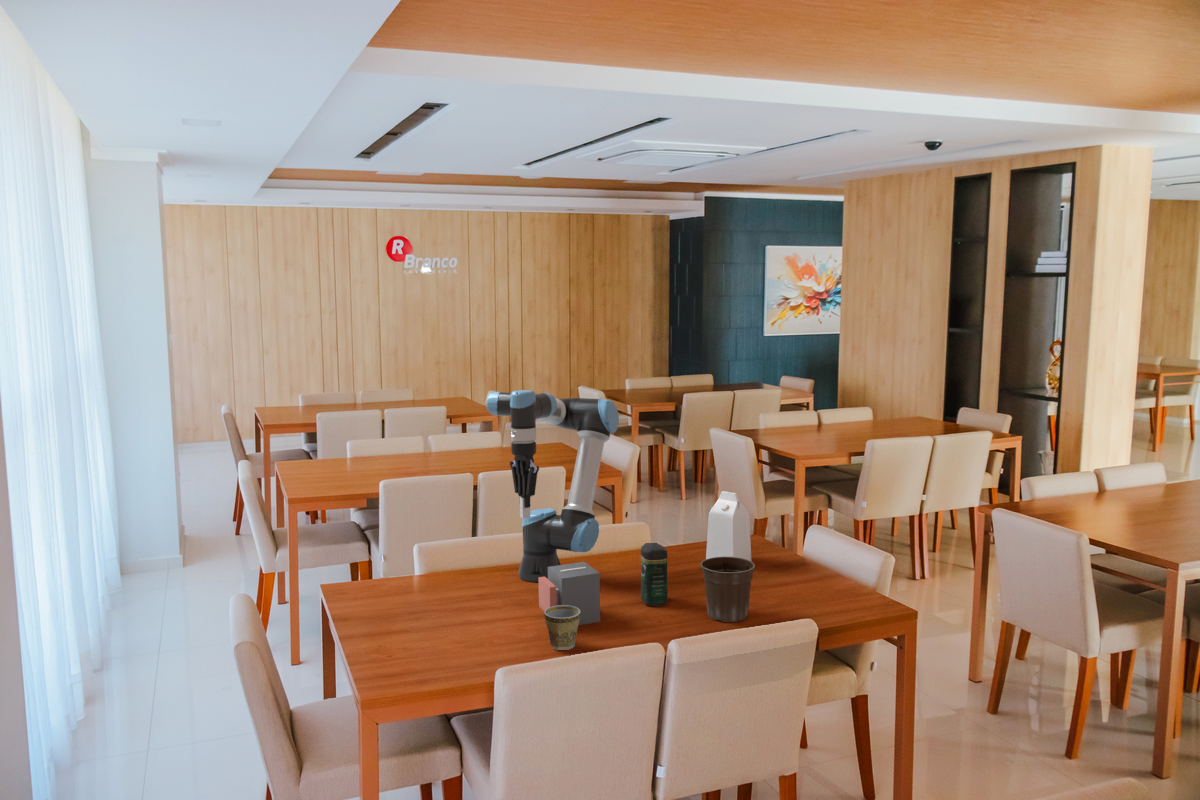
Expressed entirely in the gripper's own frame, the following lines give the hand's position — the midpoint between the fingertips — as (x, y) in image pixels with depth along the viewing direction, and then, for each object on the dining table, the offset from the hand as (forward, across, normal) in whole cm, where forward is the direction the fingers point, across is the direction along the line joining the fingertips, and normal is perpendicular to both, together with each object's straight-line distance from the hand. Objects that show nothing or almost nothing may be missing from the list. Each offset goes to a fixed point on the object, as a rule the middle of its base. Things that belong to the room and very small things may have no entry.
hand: (525, 517), depth 260 cm
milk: (+30, +7, +83) cm, 88 cm away
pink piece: (+26, +14, +5) cm, 30 cm away
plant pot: (+30, +43, +44) cm, 68 cm away
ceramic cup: (+30, +29, -7) cm, 42 cm away
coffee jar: (+30, +20, +35) cm, 50 cm away
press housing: (+29, +15, +7) cm, 34 cm away
